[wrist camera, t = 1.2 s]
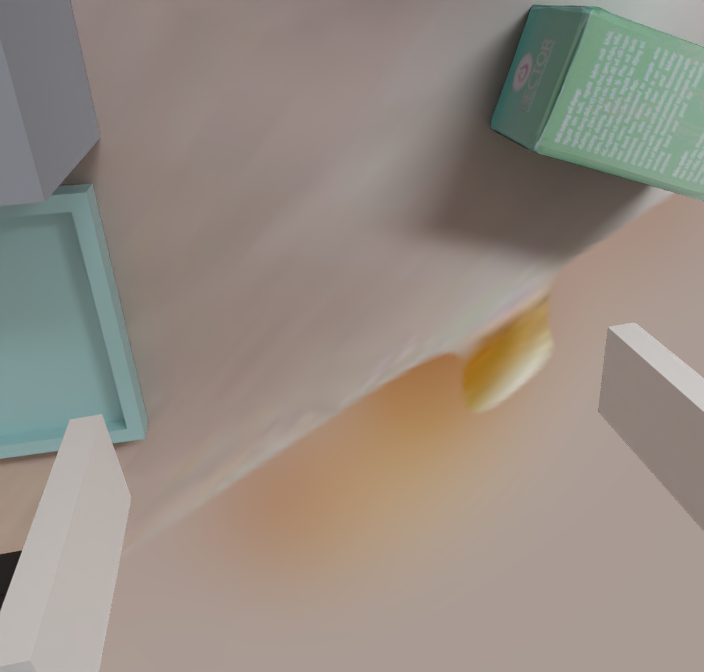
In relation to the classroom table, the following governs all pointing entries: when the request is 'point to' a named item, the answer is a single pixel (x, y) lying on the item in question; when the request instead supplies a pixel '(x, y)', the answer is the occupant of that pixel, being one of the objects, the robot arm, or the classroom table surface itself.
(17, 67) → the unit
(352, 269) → the classroom table surface
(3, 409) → the tray
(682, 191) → the box
